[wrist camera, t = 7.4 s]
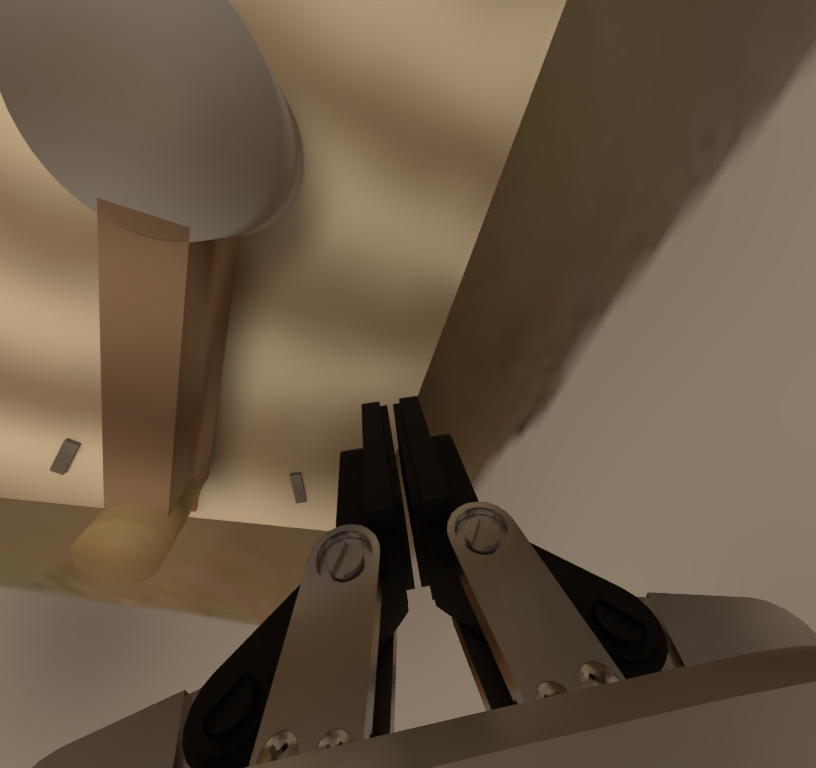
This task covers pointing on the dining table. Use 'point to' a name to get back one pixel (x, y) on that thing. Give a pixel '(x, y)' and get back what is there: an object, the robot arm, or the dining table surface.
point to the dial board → (288, 254)
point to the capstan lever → (153, 225)
